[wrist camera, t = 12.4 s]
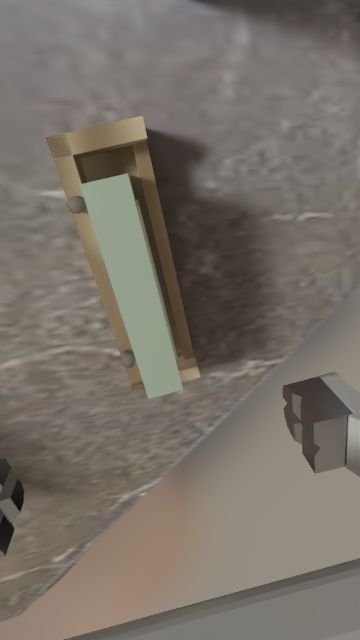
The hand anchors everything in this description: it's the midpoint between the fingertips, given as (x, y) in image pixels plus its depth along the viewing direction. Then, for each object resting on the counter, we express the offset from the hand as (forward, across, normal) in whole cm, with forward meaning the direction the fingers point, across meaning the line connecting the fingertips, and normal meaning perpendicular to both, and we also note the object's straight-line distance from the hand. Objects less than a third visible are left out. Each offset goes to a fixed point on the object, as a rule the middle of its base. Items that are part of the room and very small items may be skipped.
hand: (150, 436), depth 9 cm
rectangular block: (+19, 0, 0) cm, 19 cm away
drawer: (+20, 0, 0) cm, 20 cm away
